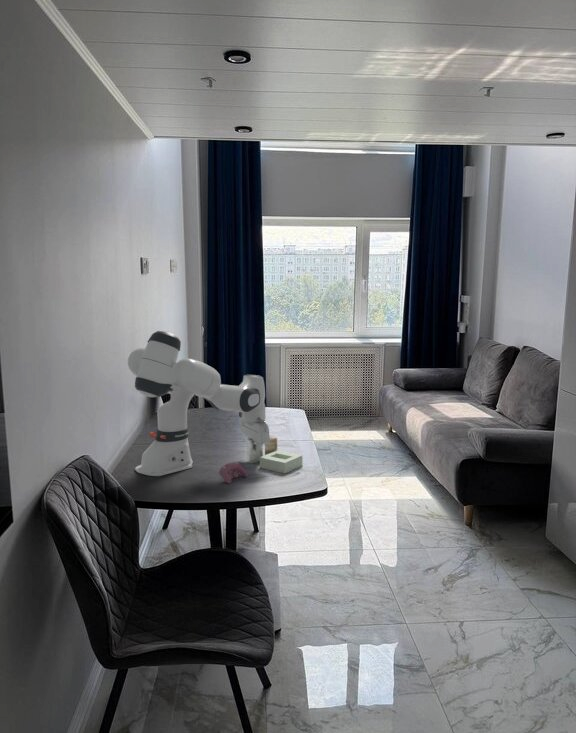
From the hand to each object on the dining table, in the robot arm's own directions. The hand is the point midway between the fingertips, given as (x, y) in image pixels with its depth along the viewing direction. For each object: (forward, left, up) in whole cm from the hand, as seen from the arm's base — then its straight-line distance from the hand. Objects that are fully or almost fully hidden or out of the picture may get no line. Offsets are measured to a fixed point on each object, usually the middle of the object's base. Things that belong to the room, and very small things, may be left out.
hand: (254, 449), depth 231 cm
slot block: (+1, -13, -5) cm, 13 cm away
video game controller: (-20, -7, -5) cm, 22 cm away
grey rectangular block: (0, 0, -5) cm, 5 cm away
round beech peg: (+7, -3, -5) cm, 9 cm away
